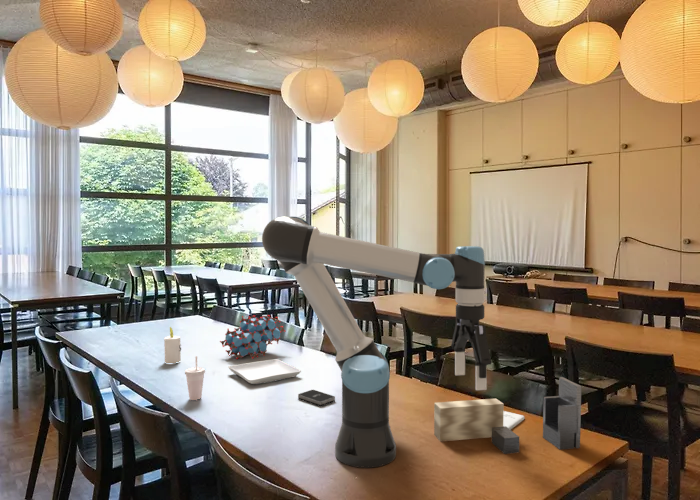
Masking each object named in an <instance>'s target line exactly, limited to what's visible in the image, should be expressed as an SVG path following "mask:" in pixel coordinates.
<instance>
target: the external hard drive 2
mask: <svg viewBox="0 0 700 500" xmlns="http://www.w3.org/2000/svg"><path fill="white" fill-rule="evenodd" d="M524 420H525V415H523V414H518V413H514V412H510V411H506V410H504V411H503V426H506V427H507V428H509V429H510V430H511V431H512V429H513V428H514V427H516V426H518V425H519V424H520V423H521V422H523V421H524Z"/></svg>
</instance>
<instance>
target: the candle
mask: <svg viewBox="0 0 700 500" xmlns="http://www.w3.org/2000/svg"><path fill="white" fill-rule="evenodd" d="M163 340H164V346H163V347H164V363H165V362H166V363H176V362H179V361H181V355H182V354H181V352H182V347H181V346H182V344H181V336H179V335H174V330H173V328H172V326H169V335H168V336H165V337H164V339H163Z"/></svg>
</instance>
